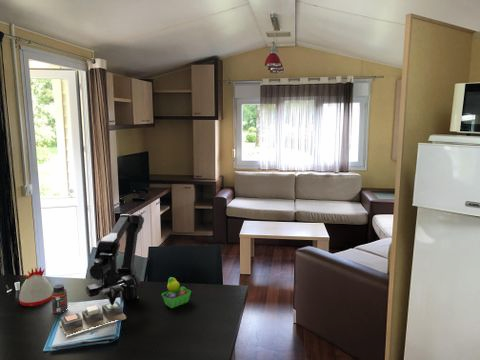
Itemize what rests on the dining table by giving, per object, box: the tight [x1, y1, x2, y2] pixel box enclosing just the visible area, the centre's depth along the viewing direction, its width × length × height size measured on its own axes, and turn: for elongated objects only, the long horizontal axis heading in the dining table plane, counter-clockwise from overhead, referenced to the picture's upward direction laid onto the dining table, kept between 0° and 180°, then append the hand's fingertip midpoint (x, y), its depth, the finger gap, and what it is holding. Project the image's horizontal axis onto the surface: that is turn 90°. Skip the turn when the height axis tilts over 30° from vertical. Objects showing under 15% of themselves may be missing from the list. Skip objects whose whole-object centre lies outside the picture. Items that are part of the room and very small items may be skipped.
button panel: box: [58, 300, 127, 337], centre depth 155 cm, size 23×12×4 cm, turn 127°
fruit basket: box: [161, 276, 192, 309], centre depth 170 cm, size 11×9×11 cm
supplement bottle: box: [51, 283, 69, 315], centre depth 163 cm, size 6×6×11 cm
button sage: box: [105, 303, 119, 310], centre depth 159 cm, size 4×4×3 cm
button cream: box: [85, 304, 100, 316], centre depth 154 cm, size 4×4×3 cm
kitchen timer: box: [18, 266, 54, 307], centre depth 174 cm, size 14×14×15 cm
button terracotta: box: [65, 313, 78, 323], centre depth 150 cm, size 4×4×3 cm
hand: (111, 304), depth 159 cm, fingers closed
